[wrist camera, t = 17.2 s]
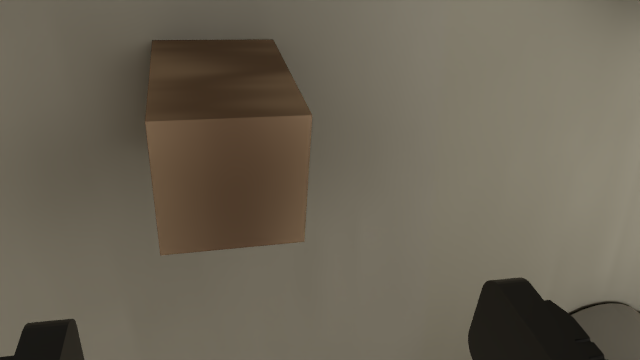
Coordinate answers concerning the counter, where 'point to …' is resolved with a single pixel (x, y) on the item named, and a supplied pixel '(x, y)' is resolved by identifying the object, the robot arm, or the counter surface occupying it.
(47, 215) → the counter surface
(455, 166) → the counter surface
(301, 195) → the walnut block
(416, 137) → the counter surface
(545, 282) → the counter surface
